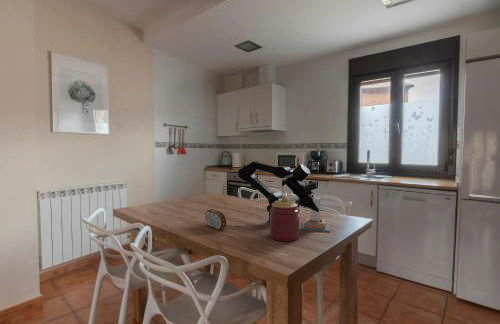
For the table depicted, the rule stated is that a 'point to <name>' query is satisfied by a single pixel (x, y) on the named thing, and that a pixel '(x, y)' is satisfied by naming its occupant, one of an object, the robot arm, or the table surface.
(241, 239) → the table surface
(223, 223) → the tin
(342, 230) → the table surface
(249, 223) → the table surface
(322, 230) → the pocket board
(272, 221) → the canister
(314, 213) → the steel square bar
